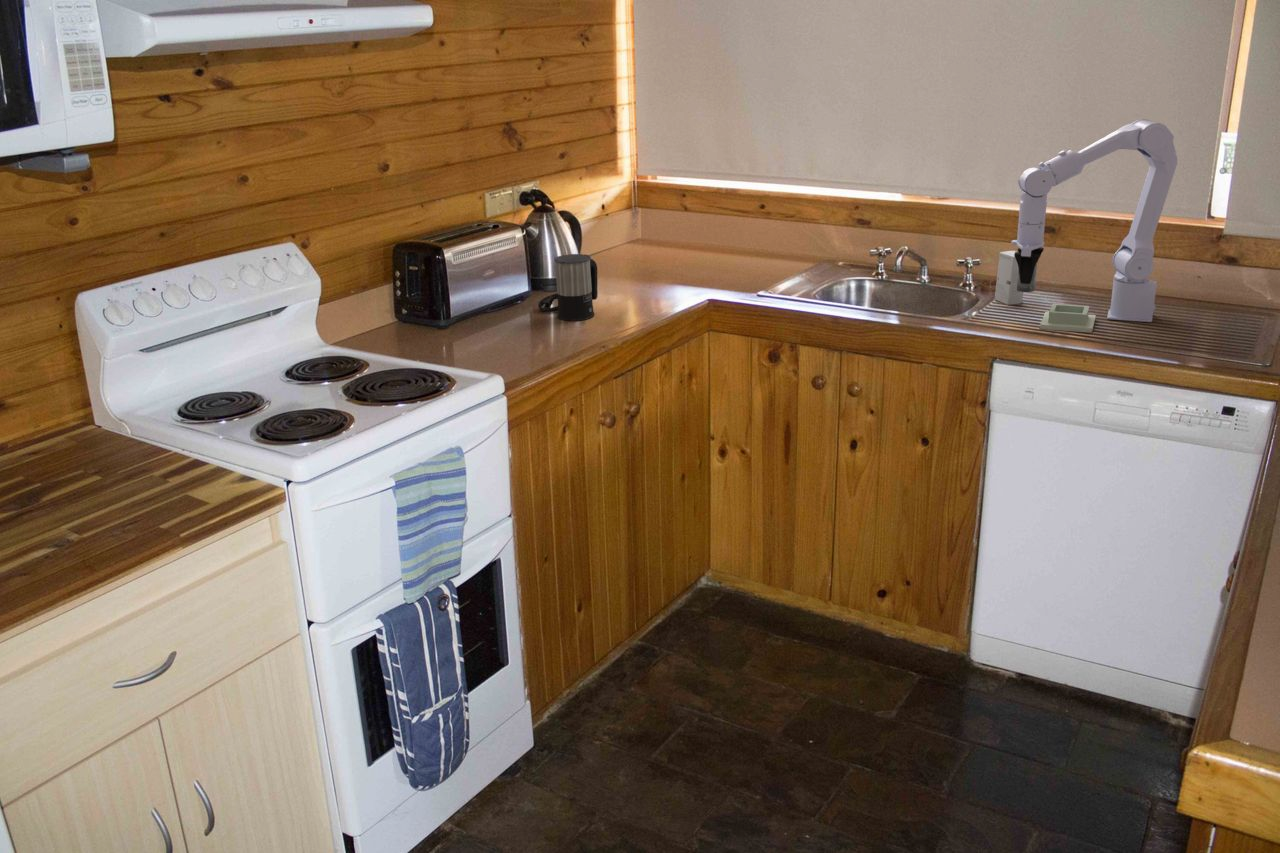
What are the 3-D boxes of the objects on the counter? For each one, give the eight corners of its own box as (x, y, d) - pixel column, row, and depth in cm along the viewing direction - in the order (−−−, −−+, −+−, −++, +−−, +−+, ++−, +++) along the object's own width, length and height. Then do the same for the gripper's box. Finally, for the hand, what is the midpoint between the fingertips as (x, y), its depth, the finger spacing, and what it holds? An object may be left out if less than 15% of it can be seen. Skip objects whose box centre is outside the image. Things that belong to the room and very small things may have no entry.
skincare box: (993, 299, 281) (997, 251, 276) (1009, 298, 282) (1013, 249, 278) (1008, 305, 275) (1012, 256, 271) (1024, 303, 276) (1028, 254, 272)
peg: (1035, 288, 262) (1038, 258, 260) (1033, 292, 259) (1036, 262, 256) (1017, 287, 264) (1020, 257, 261) (1015, 291, 260) (1018, 261, 258)
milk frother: (589, 322, 274) (585, 261, 269) (527, 320, 278) (522, 261, 272) (603, 307, 287) (600, 249, 282) (543, 306, 291) (539, 249, 285)
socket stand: (1095, 319, 261) (1096, 304, 260) (1091, 332, 251) (1093, 317, 250) (1045, 315, 265) (1046, 301, 264) (1039, 328, 255) (1041, 313, 254)
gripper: (1017, 216, 264) (1012, 273, 268) (1009, 227, 251) (1004, 287, 256) (1049, 217, 261) (1043, 275, 266) (1042, 228, 248) (1037, 289, 253)
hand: (1026, 281), depth 261 cm, fingers closed on peg, 4 cm apart
